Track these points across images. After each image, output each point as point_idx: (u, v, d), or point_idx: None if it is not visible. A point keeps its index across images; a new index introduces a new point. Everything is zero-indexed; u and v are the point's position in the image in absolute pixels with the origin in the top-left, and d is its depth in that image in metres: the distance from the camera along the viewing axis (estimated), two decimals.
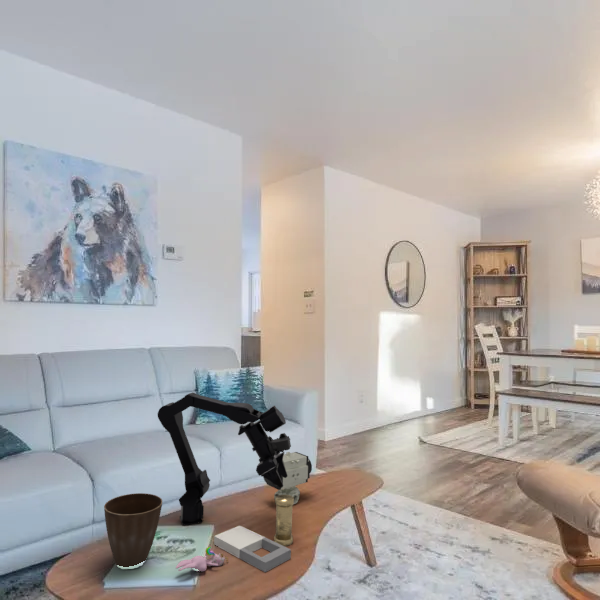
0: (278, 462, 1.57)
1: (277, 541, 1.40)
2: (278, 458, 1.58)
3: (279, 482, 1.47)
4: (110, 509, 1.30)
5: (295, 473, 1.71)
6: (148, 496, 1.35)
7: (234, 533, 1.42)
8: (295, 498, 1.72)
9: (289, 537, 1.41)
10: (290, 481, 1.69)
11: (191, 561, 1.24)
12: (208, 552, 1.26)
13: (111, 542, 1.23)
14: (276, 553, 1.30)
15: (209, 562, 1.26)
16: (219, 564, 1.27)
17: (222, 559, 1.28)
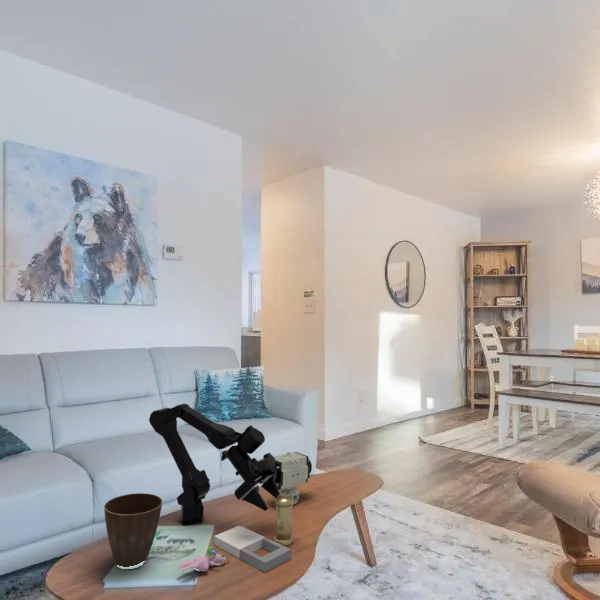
0: (270, 484, 1.50)
1: (277, 541, 1.40)
2: (269, 480, 1.50)
3: (262, 505, 1.40)
4: (110, 509, 1.30)
5: (295, 473, 1.71)
6: (148, 496, 1.35)
7: (234, 533, 1.42)
8: (295, 498, 1.72)
9: (289, 537, 1.41)
10: (290, 481, 1.69)
11: (193, 561, 1.24)
12: (210, 552, 1.26)
13: (111, 542, 1.23)
14: (276, 553, 1.30)
15: (211, 562, 1.26)
16: (221, 564, 1.28)
17: (223, 559, 1.28)
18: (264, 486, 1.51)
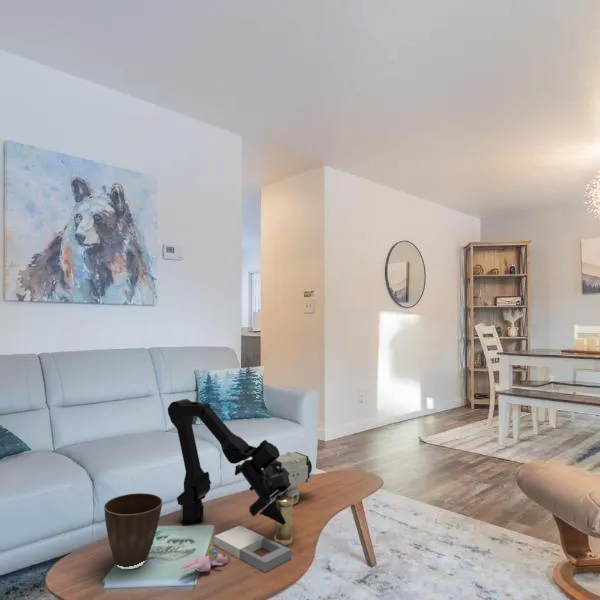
0: None
1: (277, 541, 1.40)
2: None
3: (280, 519, 1.39)
4: (110, 509, 1.30)
5: (295, 473, 1.71)
6: (148, 496, 1.35)
7: (234, 533, 1.42)
8: (295, 498, 1.72)
9: (289, 537, 1.41)
10: (290, 481, 1.69)
11: (195, 562, 1.23)
12: (211, 552, 1.26)
13: (111, 542, 1.23)
14: (276, 553, 1.30)
15: (213, 562, 1.26)
16: (222, 563, 1.28)
17: (225, 558, 1.29)
18: None
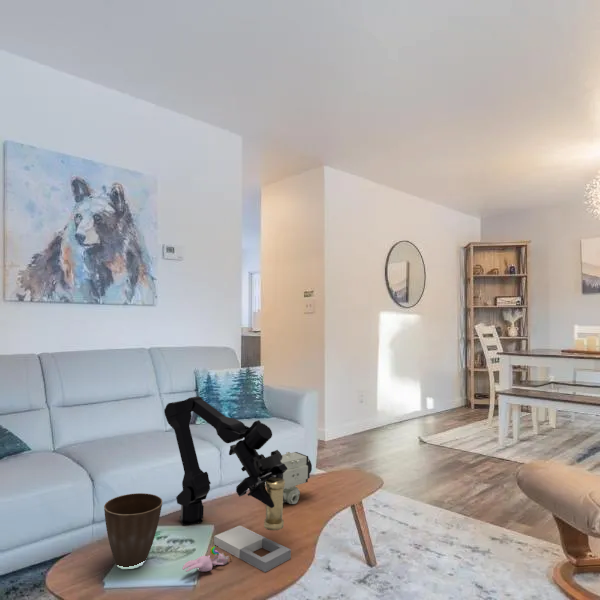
0: None
1: (266, 524, 1.36)
2: None
3: (268, 502, 1.35)
4: (110, 509, 1.30)
5: (295, 473, 1.71)
6: (148, 496, 1.35)
7: (234, 533, 1.42)
8: (295, 498, 1.72)
9: (279, 521, 1.36)
10: (290, 481, 1.69)
11: (197, 561, 1.24)
12: (213, 552, 1.27)
13: (111, 542, 1.23)
14: (276, 553, 1.30)
15: (214, 562, 1.26)
16: (223, 563, 1.28)
17: (226, 558, 1.29)
18: None
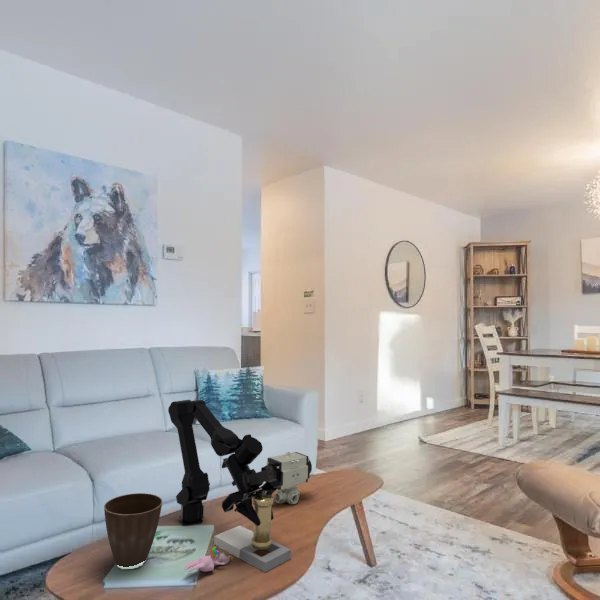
0: None
1: (253, 542, 1.32)
2: None
3: (254, 519, 1.31)
4: (110, 509, 1.30)
5: (295, 473, 1.71)
6: (148, 496, 1.35)
7: (234, 533, 1.42)
8: (295, 498, 1.72)
9: (265, 540, 1.32)
10: (290, 481, 1.69)
11: (198, 562, 1.24)
12: (214, 552, 1.27)
13: (111, 542, 1.23)
14: (276, 553, 1.30)
15: (215, 561, 1.26)
16: (225, 563, 1.28)
17: (227, 558, 1.29)
18: None
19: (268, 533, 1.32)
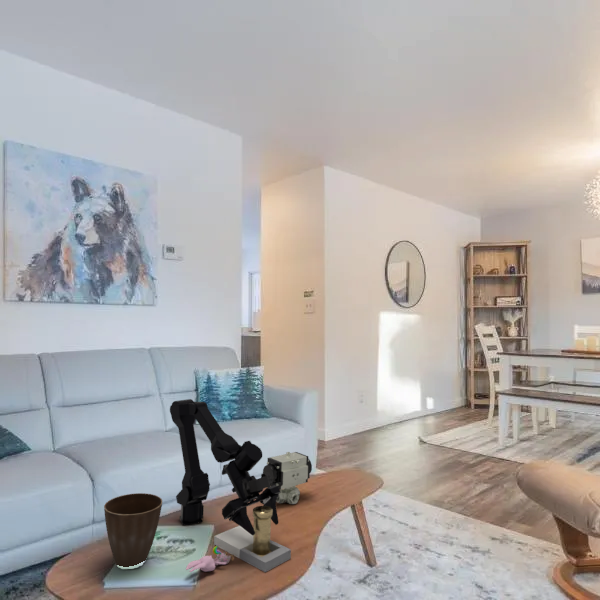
0: (269, 506, 1.39)
1: None
2: (269, 501, 1.39)
3: (249, 528, 1.29)
4: (110, 509, 1.30)
5: (295, 473, 1.71)
6: (148, 496, 1.35)
7: (234, 533, 1.42)
8: (295, 498, 1.72)
9: (265, 552, 1.31)
10: (290, 481, 1.69)
11: (200, 561, 1.24)
12: (215, 551, 1.27)
13: (111, 542, 1.23)
14: (276, 553, 1.30)
15: (216, 561, 1.27)
16: (226, 562, 1.28)
17: (228, 557, 1.29)
18: None
19: (268, 545, 1.32)
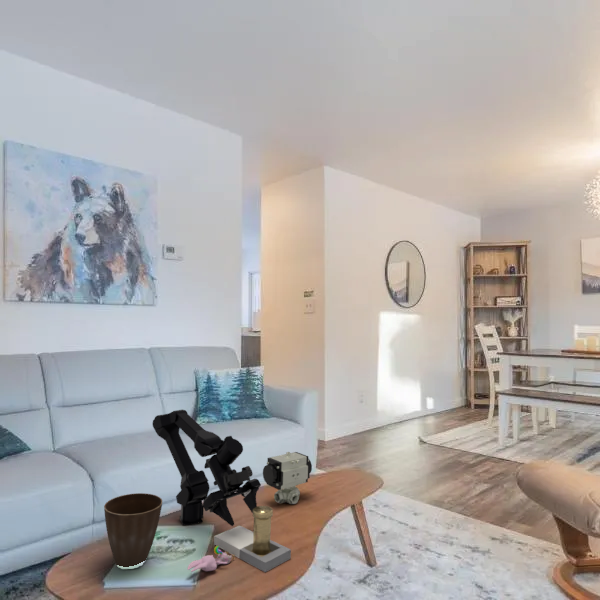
0: (249, 498, 1.44)
1: None
2: (249, 494, 1.45)
3: (229, 519, 1.35)
4: (110, 509, 1.30)
5: (295, 473, 1.71)
6: (148, 496, 1.35)
7: (234, 533, 1.42)
8: (295, 498, 1.72)
9: (265, 552, 1.31)
10: (290, 481, 1.69)
11: (201, 561, 1.24)
12: (217, 551, 1.27)
13: (111, 542, 1.23)
14: (276, 553, 1.30)
15: (218, 561, 1.27)
16: (227, 562, 1.29)
17: (229, 557, 1.29)
18: (245, 500, 1.46)
19: (268, 545, 1.32)
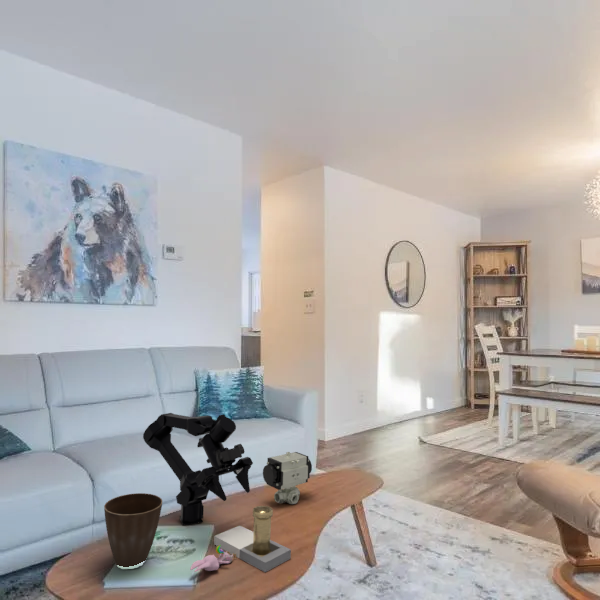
0: (241, 476, 1.48)
1: None
2: (241, 471, 1.48)
3: (221, 494, 1.39)
4: (110, 509, 1.30)
5: (295, 473, 1.71)
6: (148, 496, 1.35)
7: (234, 533, 1.42)
8: (295, 498, 1.72)
9: (265, 552, 1.31)
10: (290, 481, 1.69)
11: (204, 561, 1.24)
12: (219, 551, 1.27)
13: (111, 542, 1.23)
14: (276, 553, 1.30)
15: (220, 560, 1.27)
16: (229, 561, 1.29)
17: (231, 556, 1.30)
18: (237, 477, 1.49)
19: (268, 545, 1.32)
